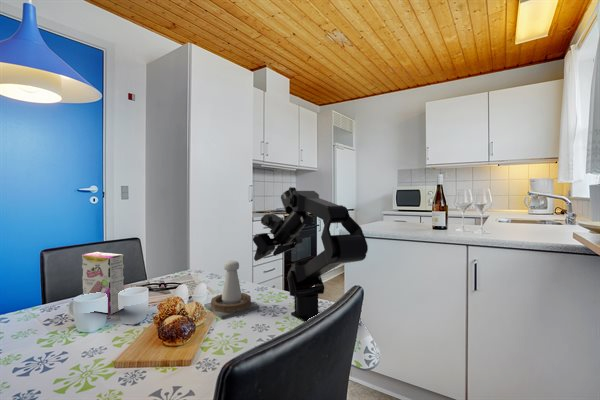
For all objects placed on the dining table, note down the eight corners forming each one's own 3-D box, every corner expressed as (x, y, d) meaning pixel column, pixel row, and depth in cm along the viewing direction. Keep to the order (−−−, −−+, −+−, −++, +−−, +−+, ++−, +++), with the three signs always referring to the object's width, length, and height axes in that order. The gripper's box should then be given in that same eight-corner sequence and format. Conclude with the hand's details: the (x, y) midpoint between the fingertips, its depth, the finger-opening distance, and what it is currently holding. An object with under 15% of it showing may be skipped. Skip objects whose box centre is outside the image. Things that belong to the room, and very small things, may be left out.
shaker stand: (258, 308, 89) (258, 299, 88) (222, 319, 81) (221, 309, 81) (239, 297, 97) (238, 290, 97) (204, 306, 90) (203, 298, 90)
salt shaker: (241, 308, 86) (240, 263, 86) (220, 309, 86) (220, 264, 86) (242, 301, 92) (242, 259, 92) (223, 302, 92) (223, 259, 91)
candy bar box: (81, 310, 87) (80, 254, 87) (98, 304, 92) (97, 251, 91) (109, 315, 83) (108, 257, 83) (125, 309, 88) (124, 253, 88)
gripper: (295, 204, 100) (269, 234, 107) (257, 206, 85) (230, 241, 91) (315, 229, 96) (287, 259, 103) (279, 236, 81) (249, 271, 87)
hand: (264, 257), depth 96 cm, fingers open, 9 cm apart
